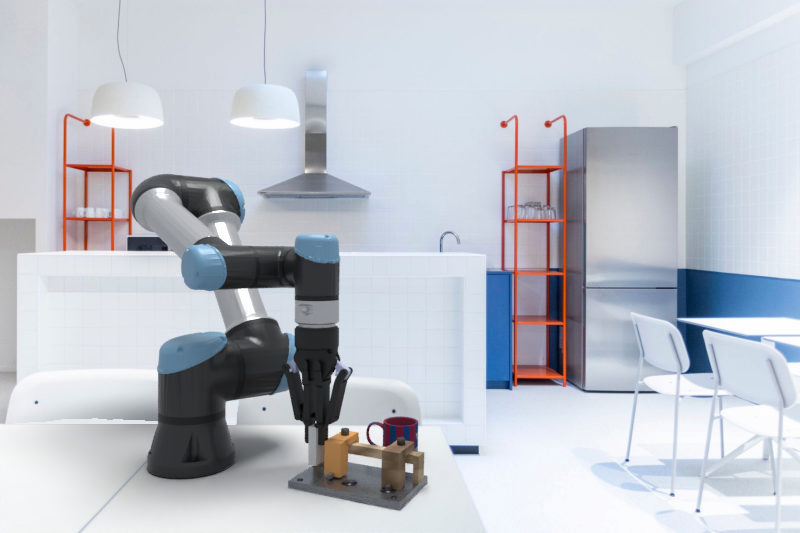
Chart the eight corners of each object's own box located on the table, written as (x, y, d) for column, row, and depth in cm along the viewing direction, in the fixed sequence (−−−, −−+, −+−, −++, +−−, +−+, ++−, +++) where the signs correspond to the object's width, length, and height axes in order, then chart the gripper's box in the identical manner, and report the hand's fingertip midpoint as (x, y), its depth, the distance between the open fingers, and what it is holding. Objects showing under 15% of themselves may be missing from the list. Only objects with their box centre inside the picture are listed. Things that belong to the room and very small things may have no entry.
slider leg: (320, 477, 101) (321, 436, 100) (343, 462, 108) (344, 424, 108) (336, 480, 100) (337, 439, 99) (358, 464, 107) (359, 426, 107)
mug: (412, 464, 112) (413, 427, 112) (361, 458, 115) (362, 422, 114) (421, 452, 118) (421, 418, 118) (372, 447, 121) (373, 413, 121)
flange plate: (288, 487, 100) (288, 480, 100) (324, 464, 111) (325, 457, 111) (399, 510, 92) (399, 501, 92) (427, 482, 103) (427, 475, 103)
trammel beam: (298, 474, 102) (298, 434, 102) (321, 460, 110) (321, 422, 109) (407, 495, 95) (408, 451, 94) (424, 478, 102) (425, 437, 101)
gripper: (272, 325, 102) (271, 464, 102) (339, 329, 97) (338, 475, 97) (296, 321, 109) (296, 451, 109) (361, 324, 104) (360, 461, 104)
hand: (316, 462), depth 103 cm, fingers closed
